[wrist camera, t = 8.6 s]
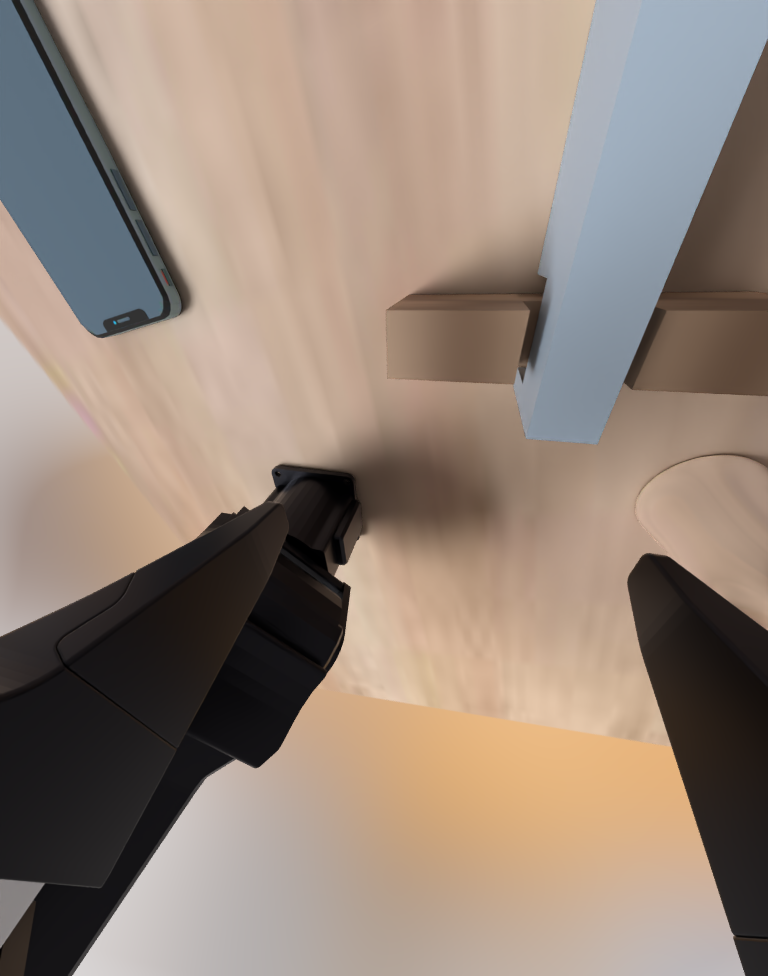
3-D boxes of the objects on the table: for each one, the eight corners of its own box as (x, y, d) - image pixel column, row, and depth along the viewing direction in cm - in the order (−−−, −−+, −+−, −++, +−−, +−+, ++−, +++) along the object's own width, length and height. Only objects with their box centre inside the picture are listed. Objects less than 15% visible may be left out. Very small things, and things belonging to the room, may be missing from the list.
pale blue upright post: (513, 386, 17) (526, 438, 12) (623, -125, 9) (790, -558, 4) (564, 388, 16) (597, 444, 12) (732, -151, 8) (1070, -685, 3)
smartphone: (-91, -213, 10) (175, 315, 18) (-24, -157, 11) (196, 311, 19) (-180, -66, 12) (88, 341, 20) (-116, -34, 14) (112, 337, 22)
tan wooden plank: (408, 348, 17) (387, 378, 13) (409, 294, 16) (385, 310, 12) (716, 356, 14) (805, 397, 10) (753, 291, 13) (873, 310, 9)
